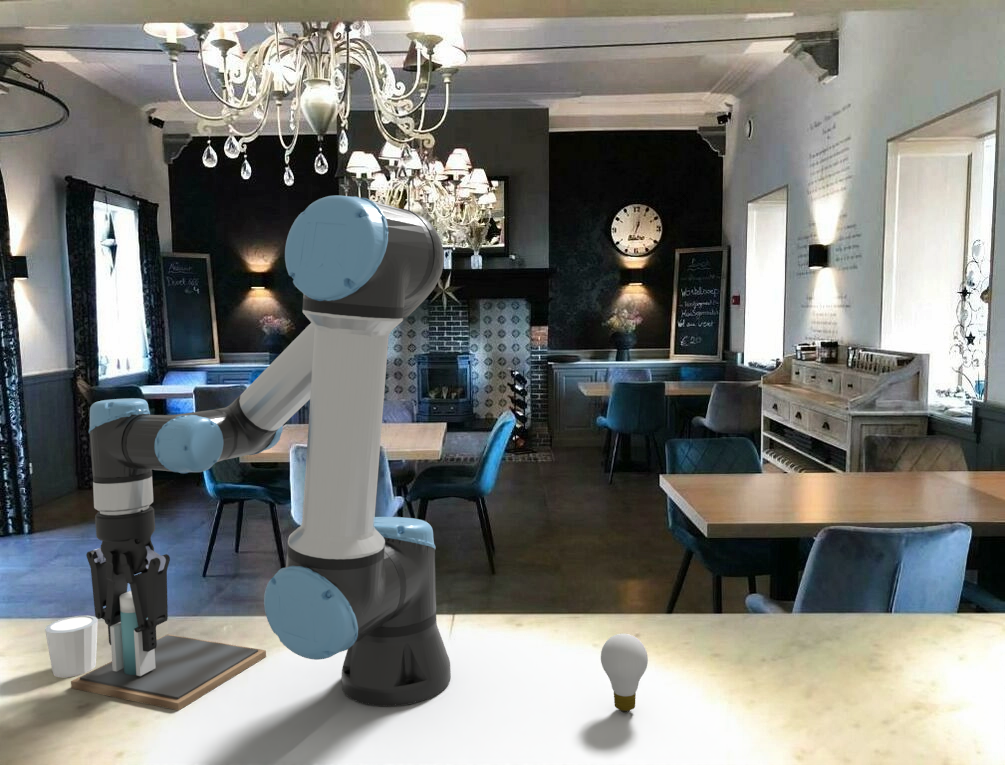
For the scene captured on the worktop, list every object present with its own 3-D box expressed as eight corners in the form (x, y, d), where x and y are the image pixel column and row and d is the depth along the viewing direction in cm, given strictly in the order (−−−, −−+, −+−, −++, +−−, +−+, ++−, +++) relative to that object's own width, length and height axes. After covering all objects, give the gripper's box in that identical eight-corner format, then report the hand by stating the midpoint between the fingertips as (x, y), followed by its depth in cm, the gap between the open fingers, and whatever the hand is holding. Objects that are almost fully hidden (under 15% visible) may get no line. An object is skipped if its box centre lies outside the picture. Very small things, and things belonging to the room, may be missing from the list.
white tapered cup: (77, 680, 111) (74, 633, 111) (36, 677, 113) (33, 630, 112) (110, 660, 118) (108, 615, 118) (71, 657, 119) (68, 613, 119)
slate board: (266, 656, 118) (265, 648, 118) (178, 710, 102) (178, 700, 102) (167, 640, 125) (167, 632, 125) (71, 688, 109) (70, 679, 109)
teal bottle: (160, 663, 113) (156, 590, 112) (141, 675, 109) (137, 599, 109) (137, 661, 114) (132, 588, 113) (117, 673, 110) (113, 598, 109)
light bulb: (637, 727, 95) (636, 648, 94) (593, 716, 98) (592, 638, 97) (655, 707, 100) (654, 631, 99) (613, 696, 103) (611, 623, 102)
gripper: (191, 506, 110) (199, 666, 111) (103, 499, 116) (112, 651, 117) (149, 519, 103) (158, 690, 104) (58, 510, 109) (68, 671, 111)
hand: (134, 669), depth 111 cm, fingers closed on teal bottle, 4 cm apart
